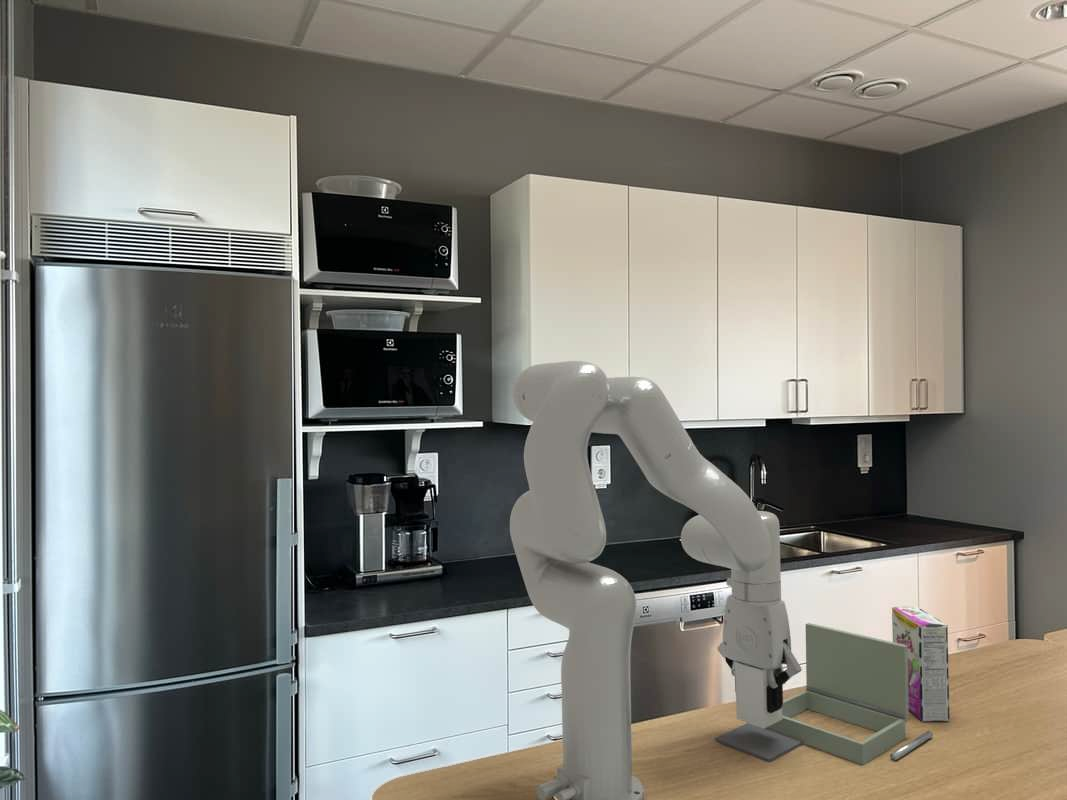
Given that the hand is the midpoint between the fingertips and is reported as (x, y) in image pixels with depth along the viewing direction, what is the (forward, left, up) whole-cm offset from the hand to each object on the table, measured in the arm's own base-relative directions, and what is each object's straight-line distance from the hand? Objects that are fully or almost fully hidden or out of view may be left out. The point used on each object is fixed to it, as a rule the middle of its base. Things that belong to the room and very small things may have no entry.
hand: (758, 703), depth 126 cm
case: (+11, -6, -6) cm, 14 cm away
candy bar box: (+31, -11, -6) cm, 34 cm away
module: (0, 0, -2) cm, 2 cm away
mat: (0, 0, -6) cm, 6 cm away
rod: (+15, -17, -6) cm, 24 cm away
